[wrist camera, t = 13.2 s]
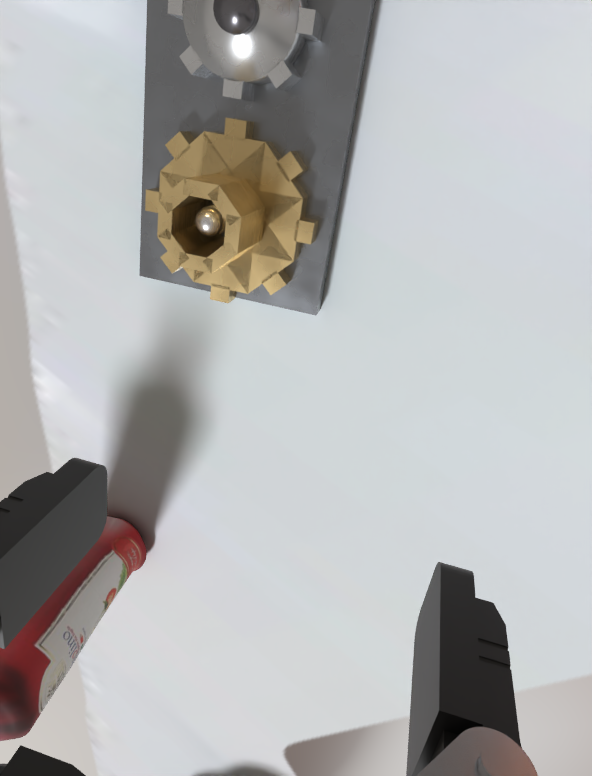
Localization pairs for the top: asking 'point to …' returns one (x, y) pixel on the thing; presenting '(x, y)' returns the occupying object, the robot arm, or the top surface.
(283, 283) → the gear
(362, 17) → the carrier plate
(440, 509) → the top surface
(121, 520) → the liquor
